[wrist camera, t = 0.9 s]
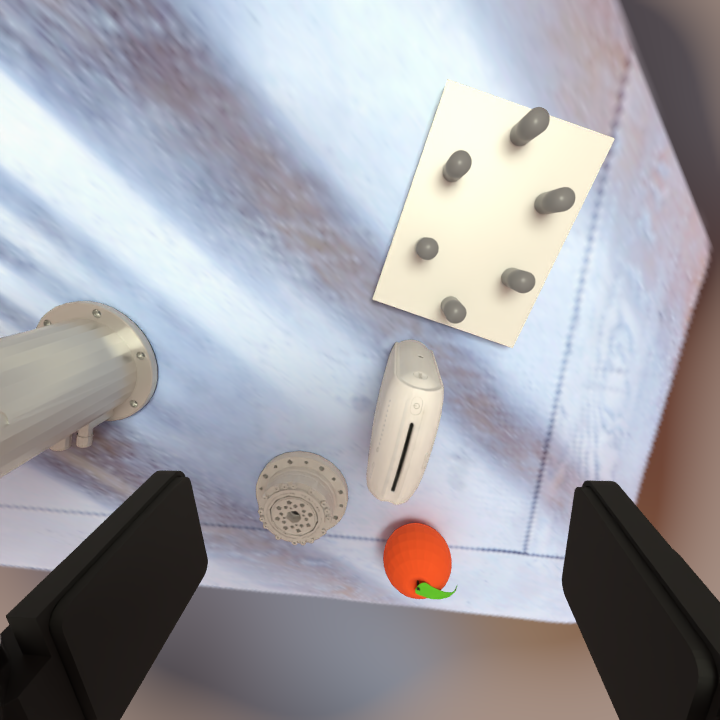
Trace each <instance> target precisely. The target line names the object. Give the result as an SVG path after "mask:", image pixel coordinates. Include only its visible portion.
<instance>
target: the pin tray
mask: <svg viewBox="0 0 720 720" xmlns="http://www.w3.org/2000/svg"><path fill="white" fill-rule="evenodd" d="M613 141H614V138H612V137H609V136H606V135H603V134H600V133H598V132H595V131H592V130H589V129H586V128H583V127H581V126H578V125H575V124H572V123H569V122H567V121H564V120H561V119H558V118H555V117H552V116H550V115H549V113H548V112H547V110H546V109H544V108H542V107H536V108H534V109H530V108H527V107H524V106H521V105H519V104H516V103H513V102H510V101H507V100H505V99H502V98H499V97H496V96H493V95H491V94H488V93H485V92H482V91H479V90H476V89H474V88H471V87H468V86H465V85H462V84H460V83H457V82H454V81H451V80H448V79H447V82H446V85H445V88H444V91H443V94H442V97H441V100H440V103H439V106H438V109H437V112H436V115H435V118H434V120H433V123H432V126H431V129H430V132H429V135H428V138H427V141H426V144H425V147H424V150H423V153H422V156H421V159H420V161H419V164H418V167H417V170H416V173H415V176H414V179H413V182H412V185H411V188H410V191H409V194H408V197H407V200H406V202H405V205H404V208H403V211H402V214H401V217H400V220H399V223H398V226H397V229H396V232H395V235H394V238H393V241H392V244H391V246H390V249H389V252H388V255H387V258H386V261H385V264H384V267H383V270H382V273H381V276H380V279H379V282H378V285H377V287H376V290H375V293H374V296H373V300H376V301H378V302H381V303H384V304H387V305H390V306H393V307H396V308H399V309H401V310H404V311H407V312H410V313H413V314H416V315H419V316H422V317H425V318H427V319H430V320H433V321H436V322H439V323H442V324H445V325H448V326H451V327H453V328H456V329H459V330H462V331H465V332H468V333H471V334H474V335H477V336H479V337H482V338H485V339H488V340H491V341H494V342H497V343H500V344H502V345H505V346H508V347H511V348H513V346H514V344H515V342H516V340H517V338H518V336H519V334H520V332H521V330H522V328H523V326H524V324H525V321H526V319H527V317H528V315H529V313H530V311H531V309H532V307H533V305H534V303H535V301H536V299H537V297H538V295H539V293H540V291H541V289H542V287H543V285H544V283H545V280H546V278H547V276H548V274H549V272H550V270H551V268H552V266H553V264H554V262H555V260H556V258H557V256H558V254H559V252H560V250H561V248H562V246H563V244H564V241H565V239H566V237H567V235H568V233H569V231H570V229H571V227H572V225H573V223H574V221H575V219H576V217H577V215H578V213H579V211H580V209H581V207H582V205H583V203H584V200H585V198H586V196H587V194H588V192H589V190H590V188H591V186H592V184H593V182H594V180H595V178H596V176H597V174H598V172H599V170H600V168H601V166H602V164H603V162H604V159H605V157H606V155H607V153H608V151H609V149H610V147H611V145H612V143H613Z"/></svg>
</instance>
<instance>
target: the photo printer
mask: <svg viewBox="0 0 720 720" xmlns="http://www.w3.org/2000/svg"><path fill="white" fill-rule="evenodd" d="M443 394H444V387H443V383H442V380H441V377H440V374H439V370H438V367H437V364H436V361H435V357H434V354H433V351H432V350H428V349H427V347H426V346H425V345H424V344H422V343H421V342H419V341H416V340H404V341H401V342H400V343H398V342H396V343H395V344H394V346H393V348H392V350H391V353H390V355H389V358H388V362H387V365H386V369H385V372H384V376H383V380H382V384H381V388H380V392H379V396H378V401H377V405H376V410H375V415H374V421H373V427H372V434H371V442H370V449H369V457H368V465H367V474H366V475H367V486H368V489H369V490H370V492H371V493H372V494H373V495H374V496H375V497H376V498H377V499H379V500H380V501H388V502H391V503H393V504H395V505H398V504H402V503H405V502H406V501H408V500H409V498H410V497H411V496H412V495H413V493H414V492H415V490H416V489H417V488H418V486H419V483H420V481H421V479H422V476H423V474H424V471H425V469H426V466H427V463H428V460H429V457H430V454H431V451H432V447H433V444H434V441H435V437H436V434H437V430H438V426H439V422H440V418H441V413H442V405H443Z"/></svg>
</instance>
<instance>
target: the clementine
mask: <svg viewBox="0 0 720 720" xmlns="http://www.w3.org/2000/svg"><path fill="white" fill-rule="evenodd" d="M383 561H384V568H385V572H386V574H387V576H388V578H389V580H390V582H391V584H392V585H393V586H394V587H395V588H396V589H397V590H398V591H399V592H400V593H402V594H404V595H405V596H407V597H410V598H415V599H425V598H430V599H443V598H447V597H450V596H451V595H452V594H453V593H454V592H455V591H456V589H455V591H453V592H443V591H441V589H442V588H443V587H444V586H445V585H446V583H447V581H448V579H449V576H450V573H451V554H450V551H449V548H448V545H447V543H446V542H445V540H444V538H443V537H442V536H441V535H440V534H439V533H438V532H437V531H436V530H435V529H433V528H432V527H430V526H427V525H424V524H421V523H409V524H406V525H403V526H401V527H399V528H398V529H396V530H395V531H394V532H393V533H392V535H391V536H390V537H389V539H388V541H387V543H386V545H385V549H384V557H383ZM456 588H457V586H456Z"/></svg>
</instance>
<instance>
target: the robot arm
mask: <svg viewBox="0 0 720 720" xmlns="http://www.w3.org/2000/svg"><path fill="white" fill-rule="evenodd" d="M157 377H158V376H157V364H156V359H155V355H154V353H153V350H152V348H151V346H150V343H149V342H148V340H147V339H146V337H145V335H144V334H143V332H142V331H141V330H140V329H139V328H138V327H137V326H136V324H135V323H134V322H133V321H131V320H130V319H129V318H128V317H127V316H125V315H124V314H122V313H121V312H119V311H117V310H116V309H114V308H112V307H109V306H107V305H104V304H102V303H97V302H92V301H76V302H70V303H65V304H62V305H59V306H57V307H55V308H53V309H52V310H50V311H49V312H47V313H46V314H45V315H44V316H43V317H42V318H41V320H40V322H39V323H38V325H37V327H36V329H33V330H30V331H26V332H22V333H18V334H14V335H10V336H7V337H3V338H0V478H1V477H3V476H4V475H6V474H8V473H9V472H11V471H13V470H14V469H16V468H17V467H19V466H21V465H22V464H24V463H26V462H27V461H29V460H30V459H32V458H34V457H35V456H37V455H39V454H40V453H42V452H44V451H45V450H47V449H48V448H49V449H51V450H53V451H63V450H66V449H69V448H70V447H71V446H72V434H73V433H74V432H76V431H78V433H77V439H76V446H78V447H81V448H85V447H89V446H91V445H92V441H93V428H94V427H96V426H97V425H99V424H100V423H102V422H103V421H115V420H121V419H124V418H126V417H129V416H131V415H133V414H134V413H136V412H137V411H139V410H140V409H141V408H143V407H144V406H145V405H146V404H147V403H148V401H149V400H150V399H151V397H152V395H153V393H154V390H155V388H156V383H157ZM207 565H208V559H207V554H206V549H205V545H204V540H203V536H202V531H201V526H200V522H199V517H198V513H197V508H196V503H195V499H194V494H193V490H192V485H191V481H190V479H189V478H188V477H185V475H184V473H183V472H181V471H157V472H155V473H154V474H153V475H152V476H151V477H150V478H149V479H148V480H147V481H146V482H145V483H144V484H143V485H142V486H140V487H139V488H138V489H137V490H136V491H135V492H134V493H133V494H132V495H131V496H130V497H129V498H128V499H127V500H126V501H125V502H124V503H123V504H122V505H121V506H120V507H119V508H118V509H117V510H115V511H114V512H113V513H112V514H111V515H110V516H109V517H108V518H107V519H106V520H105V521H104V522H103V523H102V524H101V525H100V526H99V527H98V528H97V529H96V530H95V531H94V532H93V533H92V534H91V535H89V536H88V537H87V538H86V539H85V540H84V541H83V542H82V543H81V544H80V545H79V546H78V547H77V548H76V549H75V550H74V551H73V552H72V553H71V554H70V555H69V556H68V557H67V558H66V559H64V560H63V561H62V562H61V563H60V564H59V565H58V566H57V567H56V568H55V569H54V570H53V571H52V572H51V573H50V574H49V575H48V576H47V577H46V578H45V579H44V580H43V581H42V582H41V583H39V584H38V585H37V587H35V588H34V589H33V590H32V591H31V592H30V593H29V594H28V595H27V596H26V597H25V598H24V599H23V600H22V601H21V602H20V603H19V604H18V605H17V606H16V607H15V608H14V609H13V610H11V611H10V612H9V613H8V614H7V615H6V618H7V620H8V622H9V626H8V627H7V628H6V629H5V630H4V631H3V632H2V633H1V634H0V720H120V719H121V717H122V715H123V714H124V712H125V710H126V709H127V707H128V705H129V704H130V702H131V700H132V698H133V697H134V695H135V693H136V692H137V690H138V688H139V686H140V685H141V683H142V681H143V680H144V678H145V676H146V674H147V673H148V671H149V669H150V668H151V666H152V664H153V662H154V661H155V659H156V657H157V655H158V654H159V652H160V650H161V649H162V647H163V645H164V644H165V642H166V640H167V639H168V637H169V635H170V633H171V632H172V630H173V628H174V627H175V625H176V623H177V621H178V620H179V618H180V616H181V614H182V613H183V611H184V609H185V608H186V606H187V604H188V603H189V601H190V599H191V597H192V596H193V594H194V592H195V591H196V589H197V587H198V585H199V584H200V582H201V580H202V579H203V577H204V575H205V573H206V570H207ZM562 586H563V591H564V594H565V597H566V599H567V602H568V604H569V606H570V608H571V611H572V613H573V615H574V617H575V620H576V622H577V624H578V626H579V629H580V631H581V633H582V635H583V638H584V640H585V642H586V644H587V647H588V649H589V651H590V654H591V656H592V658H593V660H594V663H595V665H596V667H597V670H598V672H599V674H600V676H601V679H602V681H603V683H604V685H605V688H606V690H607V692H608V695H609V697H610V699H611V701H612V704H613V706H614V708H615V711H616V713H617V715H618V717H619V720H720V602H719V601H718V600H717V598H716V597H715V596H714V595H713V594H712V593H711V591H710V590H709V589H708V588H707V587H706V585H705V584H704V583H703V582H702V581H701V580H700V579H699V577H698V576H697V575H696V574H695V573H694V572H693V570H692V569H691V568H690V567H689V565H688V564H687V563H686V562H685V561H684V560H683V558H682V557H681V556H680V555H679V554H678V553H677V552H676V551H675V550H673V549H672V548H671V546H670V545H669V544H668V543H667V542H666V541H665V539H664V538H663V537H662V536H661V535H660V533H659V532H658V531H657V530H656V529H655V528H654V526H653V525H652V524H651V523H650V522H649V520H647V518H646V517H645V516H644V515H643V514H642V512H641V511H640V510H639V509H638V507H637V506H636V505H635V504H634V503H633V502H632V500H631V499H630V498H629V497H628V496H627V494H626V493H625V492H624V491H623V490H622V489H621V487H620V486H619V485H618V484H617V483H616V482H613V481H585V482H584V483H583V486H582V487H577V488H576V489H575V492H574V499H573V506H572V512H571V519H570V526H569V533H568V540H567V547H566V554H565V561H564V567H563V574H562Z"/></svg>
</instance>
